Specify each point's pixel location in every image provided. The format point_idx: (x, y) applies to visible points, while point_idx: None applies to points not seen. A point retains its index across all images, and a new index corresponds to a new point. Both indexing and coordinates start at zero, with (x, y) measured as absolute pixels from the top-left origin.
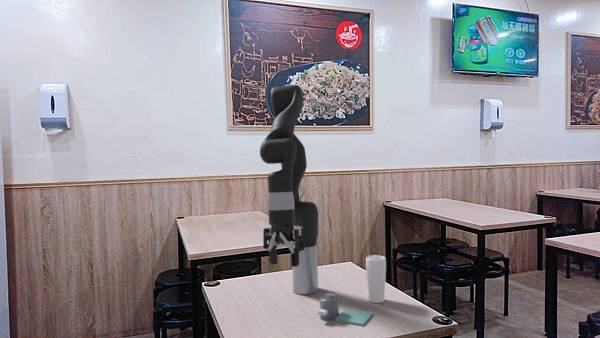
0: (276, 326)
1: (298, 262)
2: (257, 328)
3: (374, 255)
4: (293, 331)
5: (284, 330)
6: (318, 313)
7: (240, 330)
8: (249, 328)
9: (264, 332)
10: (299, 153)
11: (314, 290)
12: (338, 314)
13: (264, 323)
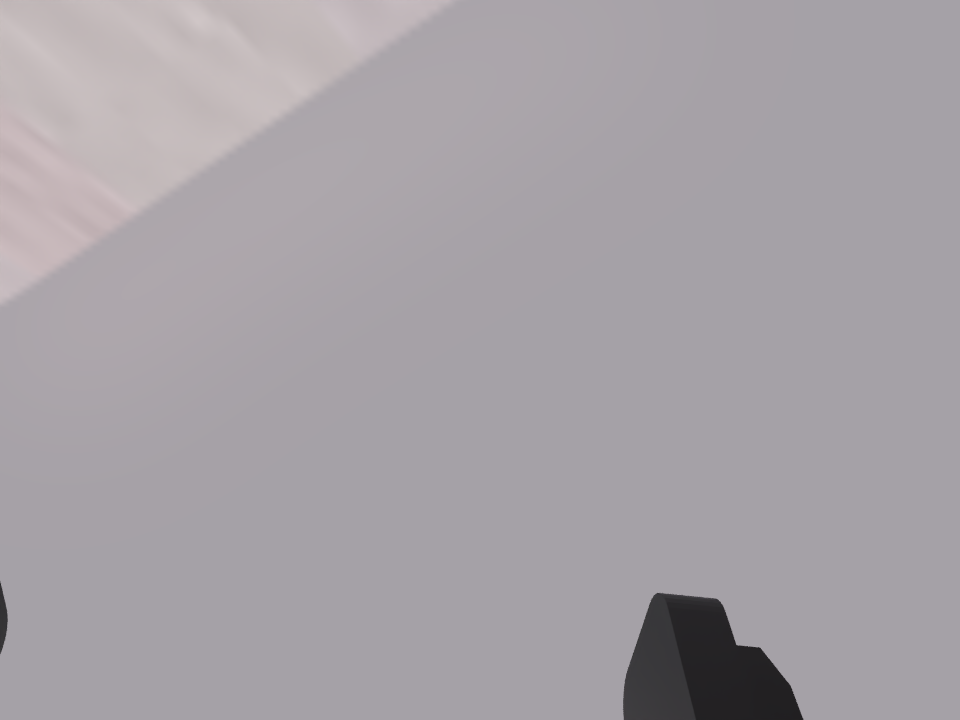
0: (180, 18)
1: (781, 706)
2: (80, 151)
3: None
4: (391, 15)
5: (307, 46)
6: None
7: (7, 254)
8: (26, 188)
9: (194, 174)
10: None
11: None
12: None
13: (30, 31)
